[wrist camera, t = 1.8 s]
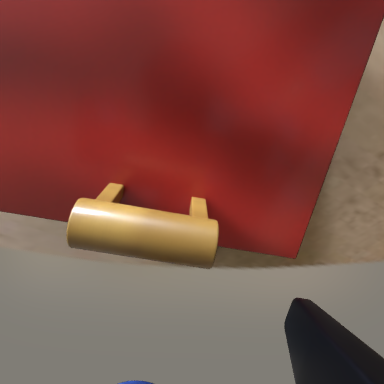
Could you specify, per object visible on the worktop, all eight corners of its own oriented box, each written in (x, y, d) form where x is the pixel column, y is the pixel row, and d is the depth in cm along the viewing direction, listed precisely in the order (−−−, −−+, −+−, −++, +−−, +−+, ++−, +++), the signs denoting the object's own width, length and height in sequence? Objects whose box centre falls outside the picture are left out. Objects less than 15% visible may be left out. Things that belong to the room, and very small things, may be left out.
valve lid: (291, 251, 16) (340, 328, 10) (5, 205, 14) (-96, 265, 9) (381, -5, 11) (534, -83, 6) (-8, -97, 10) (-198, -278, 5)
